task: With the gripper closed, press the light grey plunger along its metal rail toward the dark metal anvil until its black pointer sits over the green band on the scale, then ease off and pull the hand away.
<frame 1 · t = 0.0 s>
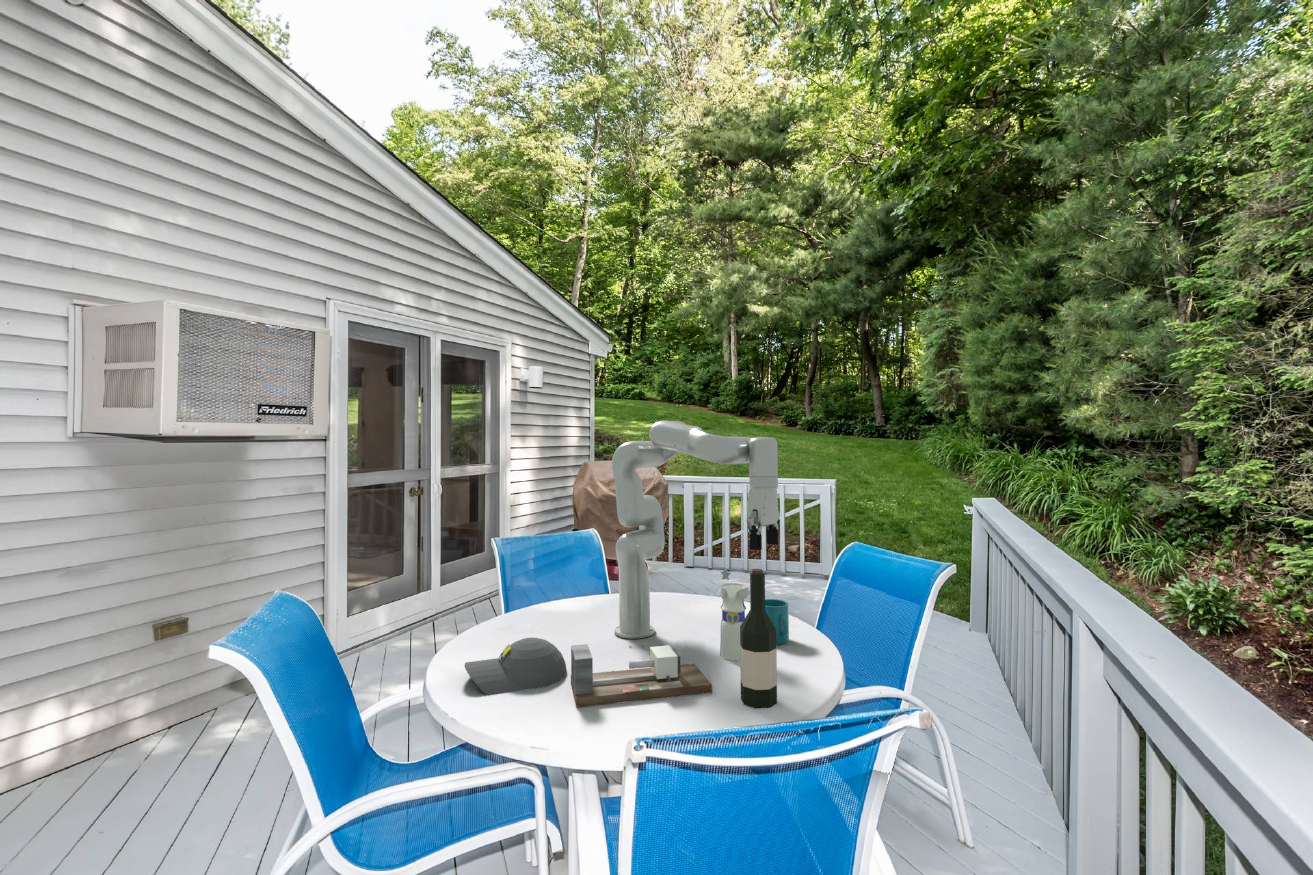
hand: (764, 546, 162), 31 cm above the table, tool pointing down, fingers open, 9 cm apart
plunger: (654, 664, 146), point 6 cm above the table, slide at 0.0 cm
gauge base: (639, 687, 147), on the table
baseball cap: (517, 678, 155), on the table
wine bottle: (758, 701, 139), on the table
cup: (776, 642, 179), on the table
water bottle: (734, 656, 168), on the table
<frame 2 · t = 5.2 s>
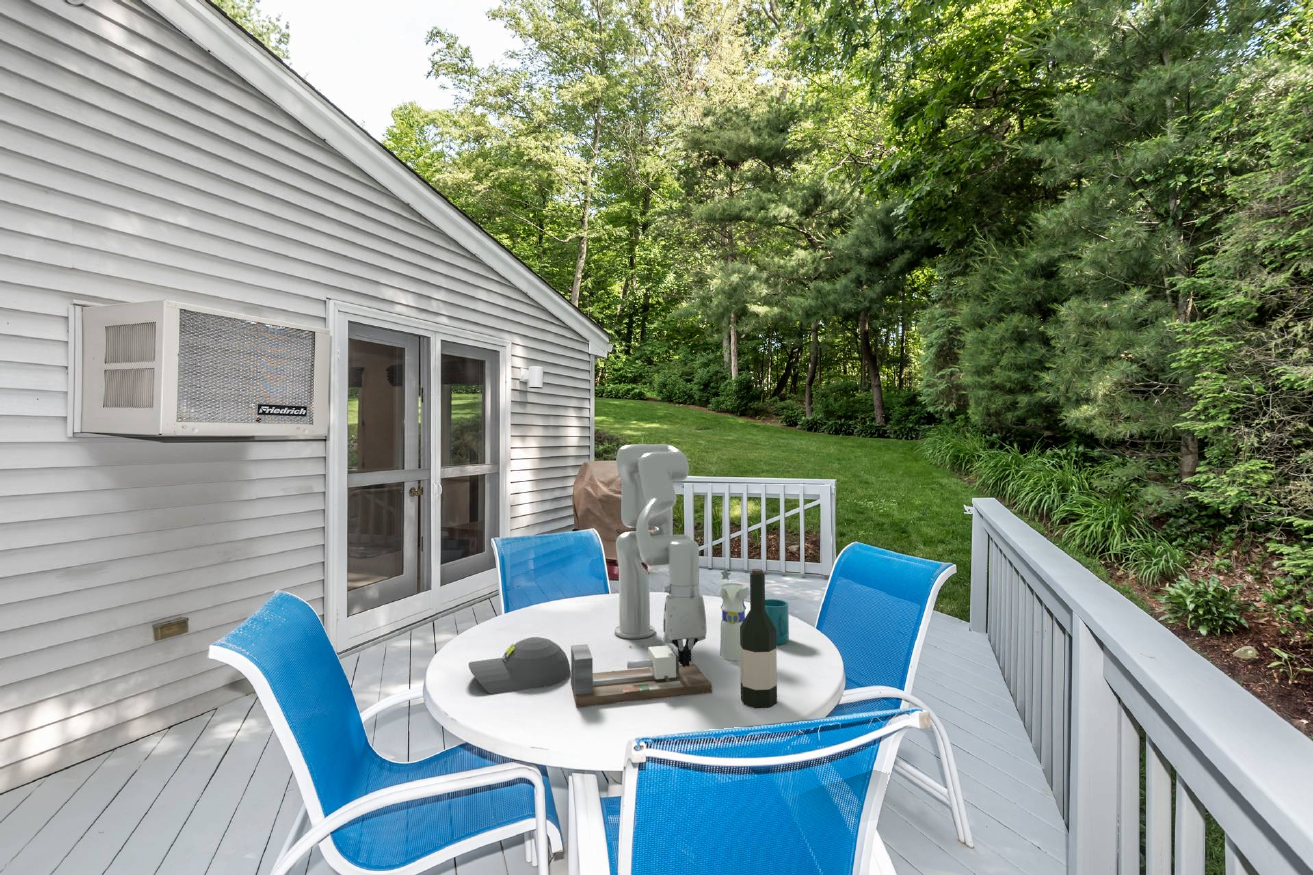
hand: (684, 664, 149), 5 cm above the table, tool pointing down, fingers closed
plunger: (652, 664, 146), point 6 cm above the table, slide at 0.4 cm, touching gripper
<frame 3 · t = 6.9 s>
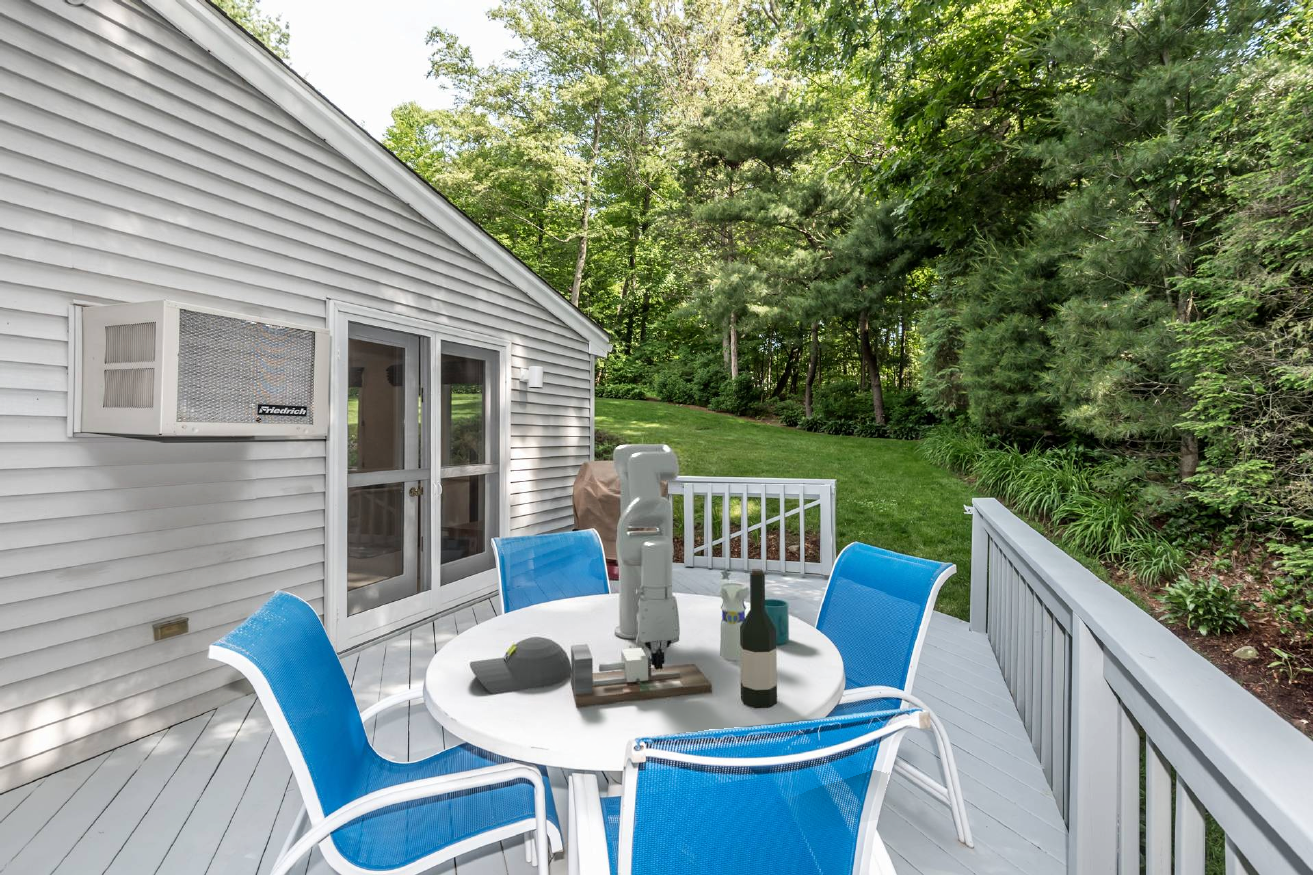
hand: (657, 667, 148), 5 cm above the table, tool pointing down, fingers closed
plunger: (625, 667, 145), point 6 cm above the table, slide at 7.3 cm, touching gripper
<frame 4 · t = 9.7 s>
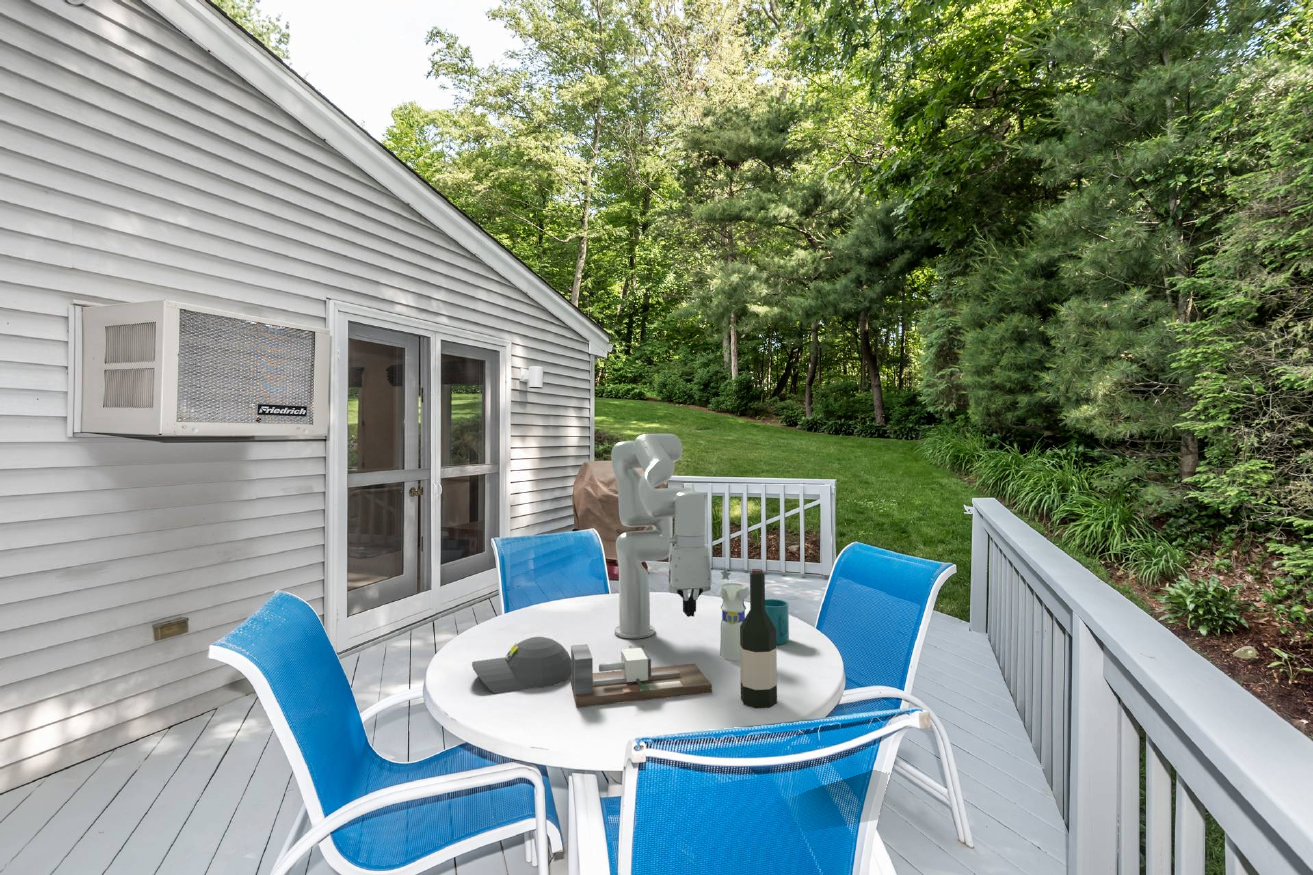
hand: (689, 614, 150), 17 cm above the table, tool pointing down, fingers closed
plunger: (624, 667, 145), point 6 cm above the table, slide at 7.3 cm
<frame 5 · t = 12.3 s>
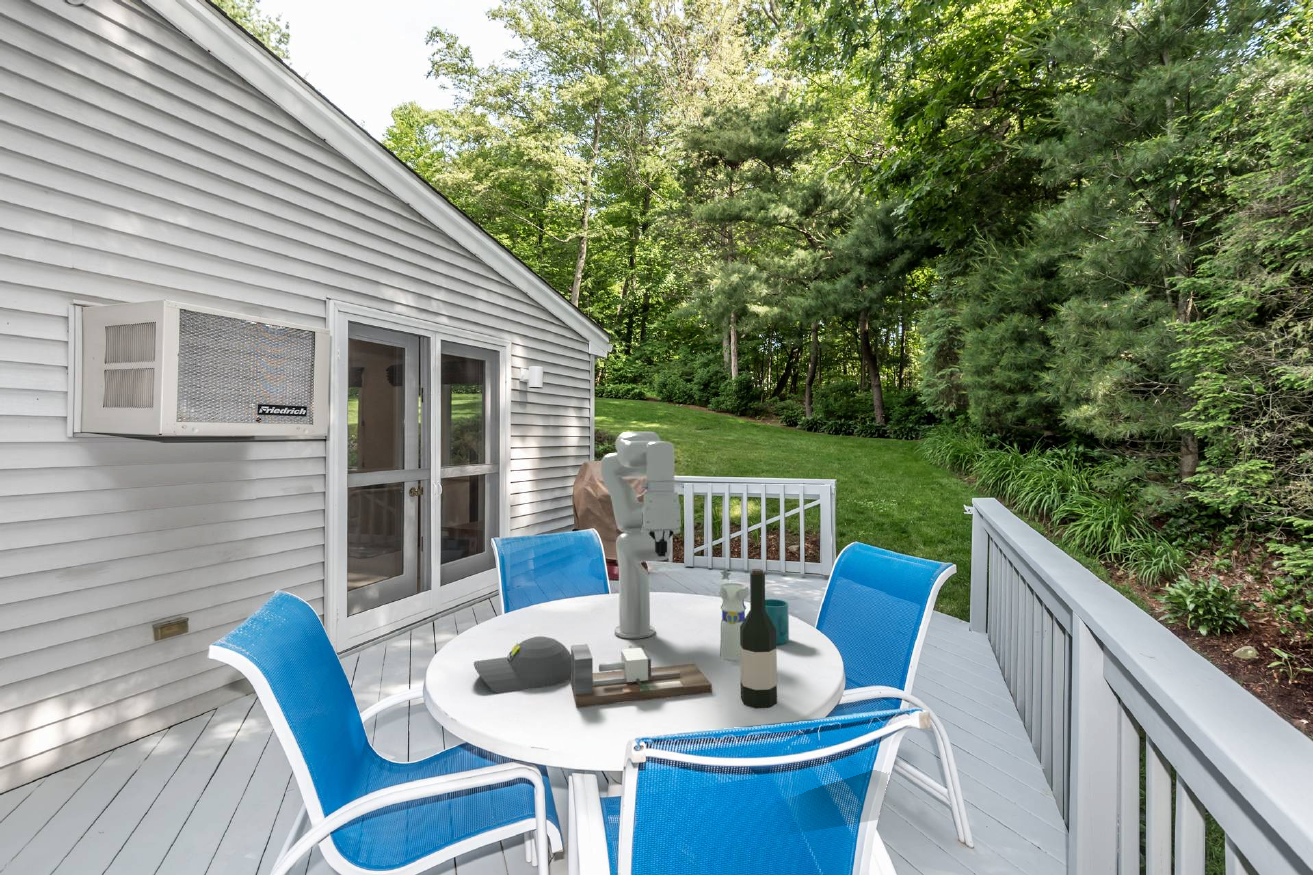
hand: (661, 555, 162), 29 cm above the table, tool pointing down, fingers closed
at the end: plunger slide at 7.3 cm; wine bottle moved 0.2 cm from its start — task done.
